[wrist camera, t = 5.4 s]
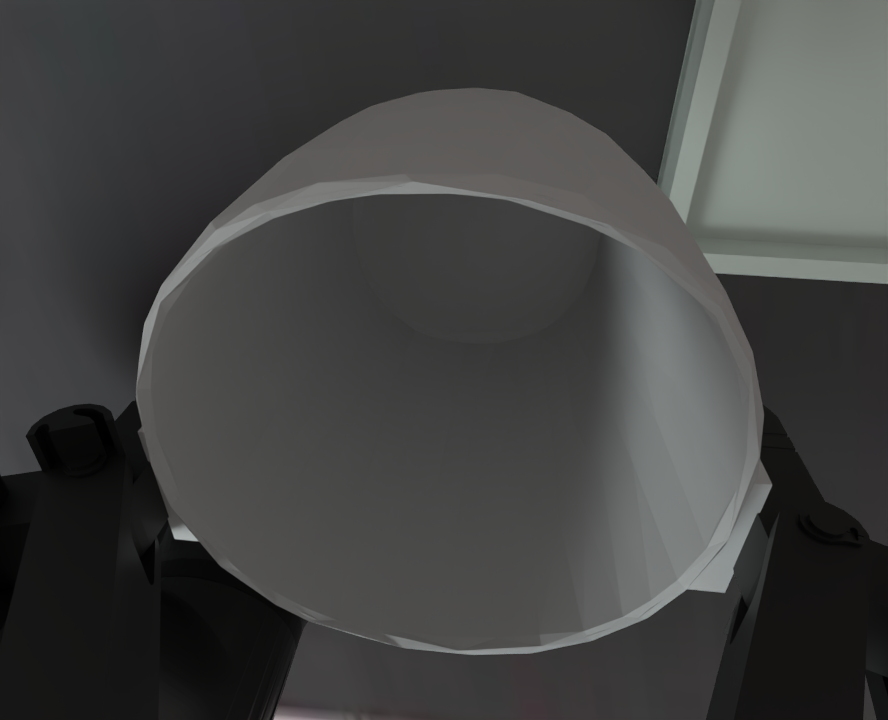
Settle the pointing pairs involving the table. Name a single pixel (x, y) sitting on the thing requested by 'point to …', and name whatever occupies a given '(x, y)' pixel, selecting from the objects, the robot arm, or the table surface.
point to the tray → (784, 138)
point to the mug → (453, 382)
